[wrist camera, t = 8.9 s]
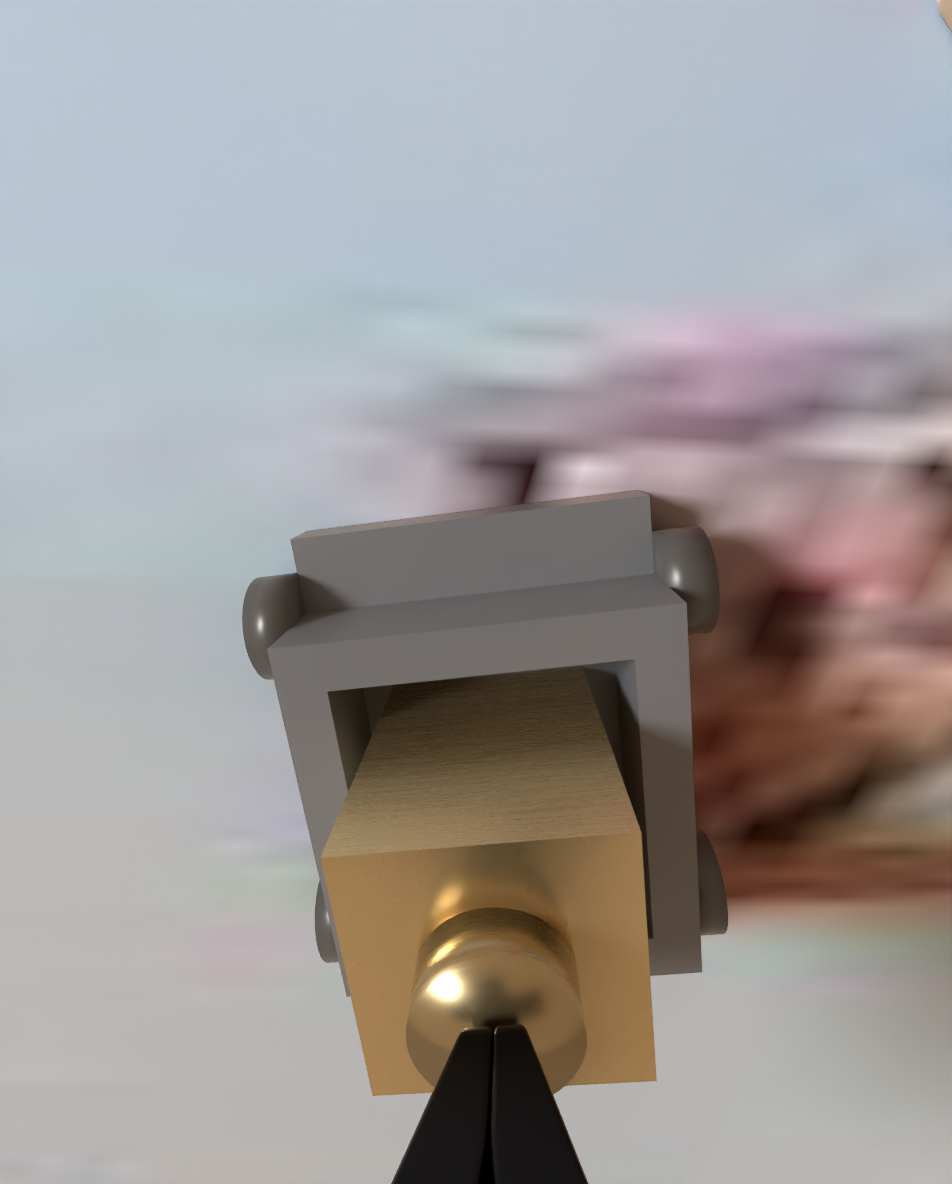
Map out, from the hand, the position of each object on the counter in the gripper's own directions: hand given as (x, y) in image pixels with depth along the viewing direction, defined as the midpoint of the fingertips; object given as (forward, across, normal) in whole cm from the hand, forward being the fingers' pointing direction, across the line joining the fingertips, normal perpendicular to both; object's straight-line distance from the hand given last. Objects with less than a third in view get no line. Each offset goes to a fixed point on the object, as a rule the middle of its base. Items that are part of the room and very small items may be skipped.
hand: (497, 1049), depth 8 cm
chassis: (+8, 0, 0) cm, 8 cm away
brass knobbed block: (+7, 0, 0) cm, 7 cm away
